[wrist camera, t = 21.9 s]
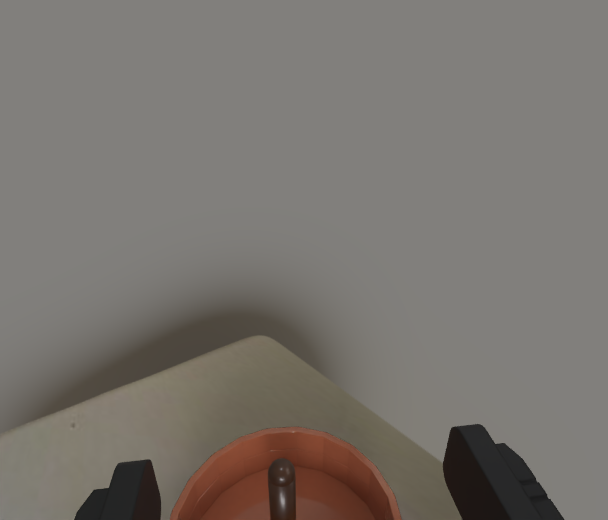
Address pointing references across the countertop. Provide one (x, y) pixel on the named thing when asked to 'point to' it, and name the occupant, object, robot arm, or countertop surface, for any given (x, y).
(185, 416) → the countertop surface
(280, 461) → the paper towel holder
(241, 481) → the bowl
